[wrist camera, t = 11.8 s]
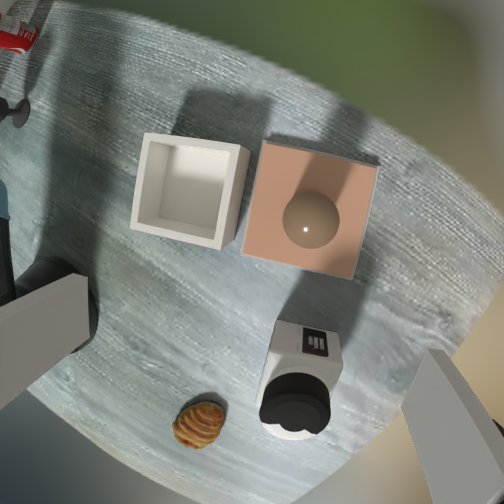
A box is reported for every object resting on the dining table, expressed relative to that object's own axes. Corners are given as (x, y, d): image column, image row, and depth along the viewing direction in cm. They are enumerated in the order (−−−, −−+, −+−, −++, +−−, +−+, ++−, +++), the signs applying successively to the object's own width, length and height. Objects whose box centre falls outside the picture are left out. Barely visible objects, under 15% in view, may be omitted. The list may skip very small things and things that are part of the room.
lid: (244, 251, 36) (221, 276, 26) (265, 144, 33) (249, 128, 23) (349, 275, 34) (364, 309, 25) (374, 169, 32) (401, 163, 22)
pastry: (196, 388, 42) (188, 404, 38) (237, 411, 42) (231, 428, 38) (172, 422, 44) (164, 437, 40) (209, 442, 44) (202, 458, 40)
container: (276, 318, 37) (261, 380, 25) (338, 331, 36) (350, 397, 24) (262, 370, 39) (244, 439, 27) (320, 382, 38) (321, 454, 26)
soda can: (16, 50, 35) (-30, 36, 24) (31, 24, 34) (-14, 7, 22) (27, 58, 35) (-23, 43, 24) (43, 31, 34) (-4, 12, 22)
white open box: (154, 221, 37) (129, 228, 31) (168, 139, 35) (144, 132, 29) (234, 239, 36) (220, 250, 30) (251, 151, 34) (240, 145, 28)
